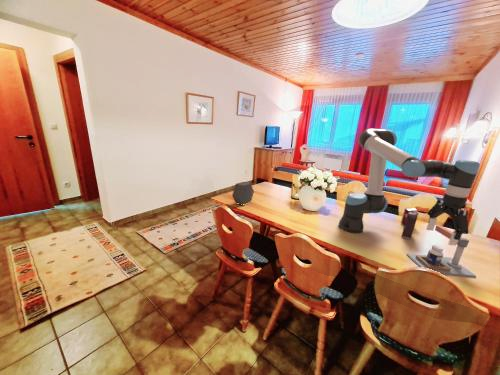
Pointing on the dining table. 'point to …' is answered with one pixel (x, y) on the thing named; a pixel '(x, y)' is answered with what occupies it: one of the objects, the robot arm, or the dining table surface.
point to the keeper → (448, 234)
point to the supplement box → (409, 224)
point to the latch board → (444, 264)
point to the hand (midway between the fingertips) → (440, 237)
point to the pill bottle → (434, 255)
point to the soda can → (406, 214)
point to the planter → (243, 193)
